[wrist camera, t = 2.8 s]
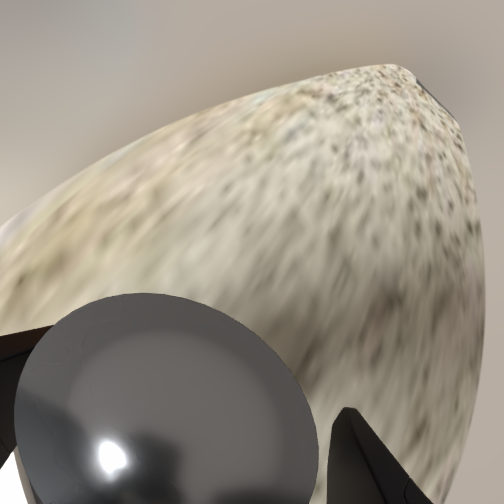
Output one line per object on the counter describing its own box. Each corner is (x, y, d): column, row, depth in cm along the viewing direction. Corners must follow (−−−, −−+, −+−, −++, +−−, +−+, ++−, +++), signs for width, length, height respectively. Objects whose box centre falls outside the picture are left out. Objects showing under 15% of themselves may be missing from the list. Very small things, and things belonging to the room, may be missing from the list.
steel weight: (258, 440, 13) (340, 550, 2) (175, 451, 13) (54, 556, 2) (242, 363, 15) (279, 271, 4) (161, 374, 15) (9, 306, 4)
